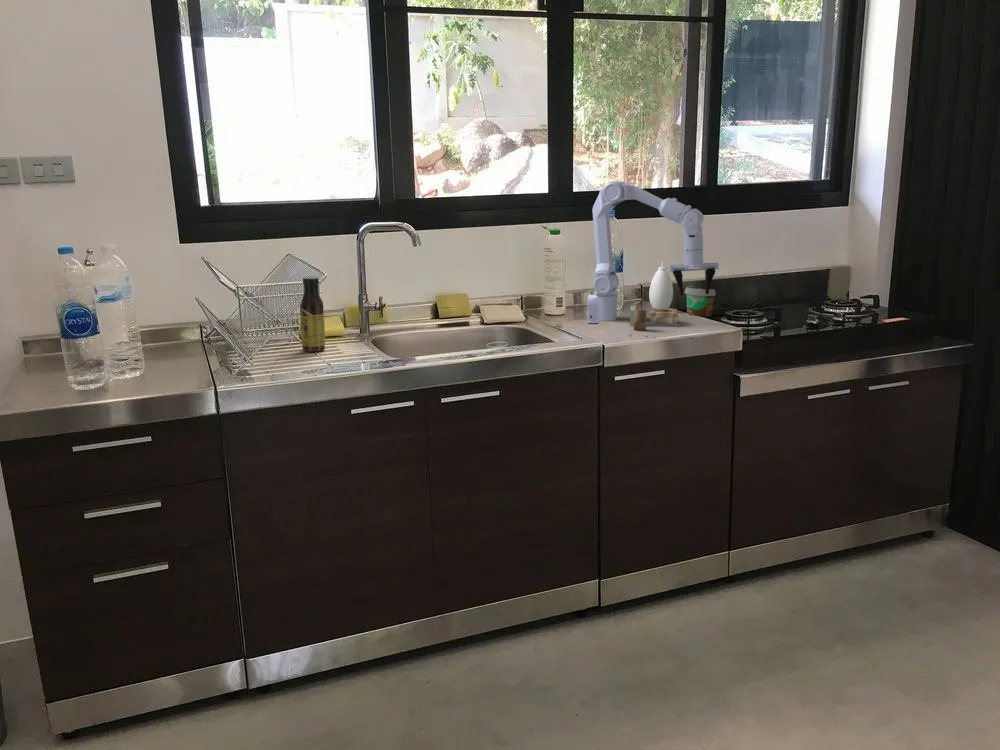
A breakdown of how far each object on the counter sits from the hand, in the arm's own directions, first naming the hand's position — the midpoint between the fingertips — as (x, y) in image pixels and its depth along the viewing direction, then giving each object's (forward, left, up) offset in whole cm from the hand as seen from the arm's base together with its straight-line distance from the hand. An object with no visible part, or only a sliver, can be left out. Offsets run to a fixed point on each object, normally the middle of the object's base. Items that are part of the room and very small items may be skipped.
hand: (694, 294), depth 255 cm
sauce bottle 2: (-9, +29, -11) cm, 32 cm away
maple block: (-9, 0, -9) cm, 13 cm away
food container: (+2, +19, -11) cm, 22 cm away
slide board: (-12, 0, -10) cm, 16 cm away
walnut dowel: (-16, -12, -10) cm, 23 cm away
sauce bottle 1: (-103, -51, -11) cm, 116 cm away
